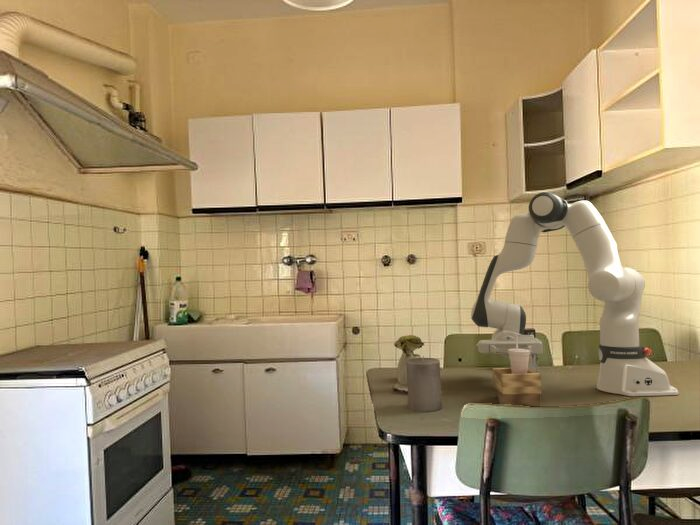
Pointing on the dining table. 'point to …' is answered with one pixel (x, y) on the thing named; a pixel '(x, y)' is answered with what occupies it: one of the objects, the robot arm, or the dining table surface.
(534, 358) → the coffee box
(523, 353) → the smoothie
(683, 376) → the dining table surface
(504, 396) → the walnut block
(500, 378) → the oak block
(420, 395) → the pillar candle
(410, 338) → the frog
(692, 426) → the dining table surface
